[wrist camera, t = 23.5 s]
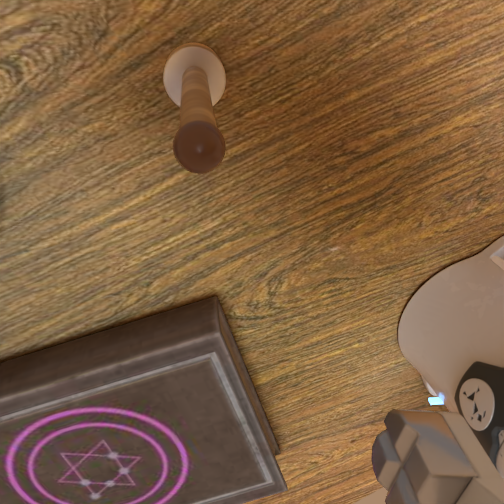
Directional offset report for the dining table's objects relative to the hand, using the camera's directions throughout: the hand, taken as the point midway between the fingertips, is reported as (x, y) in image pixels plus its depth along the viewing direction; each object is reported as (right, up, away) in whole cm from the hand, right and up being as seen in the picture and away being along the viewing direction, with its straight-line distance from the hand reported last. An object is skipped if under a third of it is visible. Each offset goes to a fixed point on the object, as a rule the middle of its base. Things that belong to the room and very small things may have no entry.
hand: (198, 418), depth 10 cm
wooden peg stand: (-3, +15, +22) cm, 27 cm away
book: (-14, -14, +38) cm, 42 cm away
